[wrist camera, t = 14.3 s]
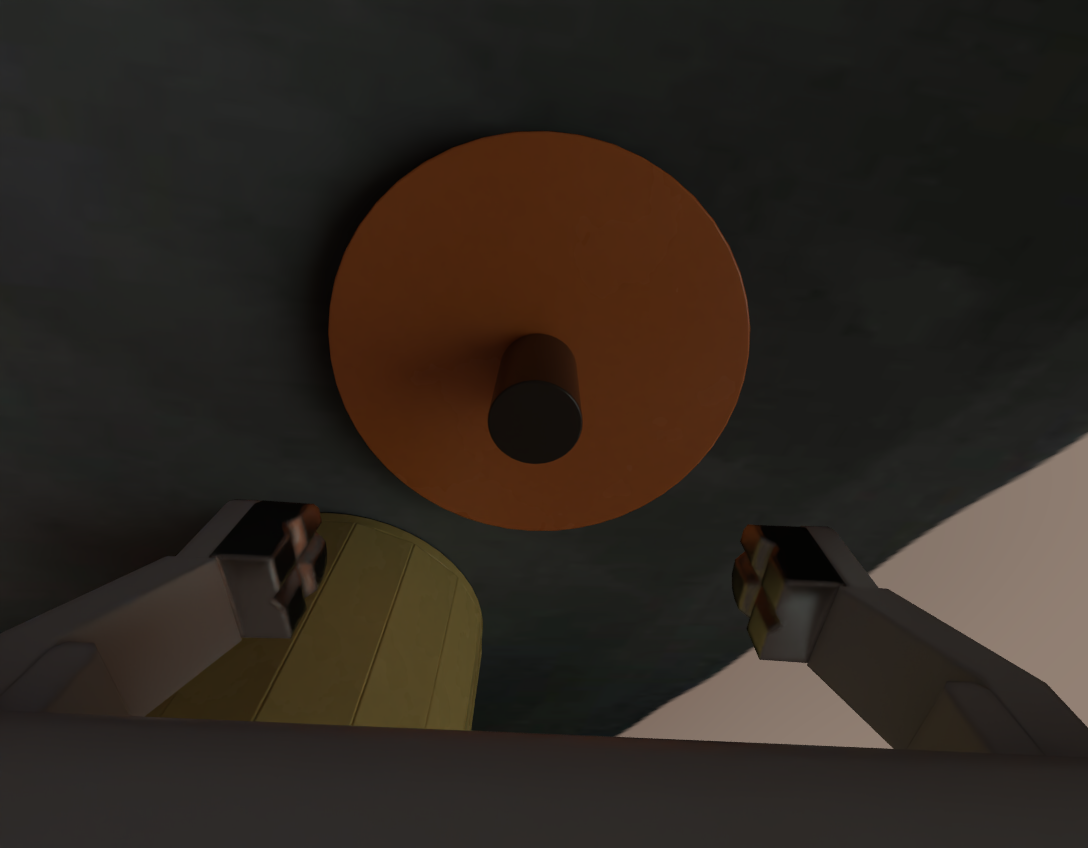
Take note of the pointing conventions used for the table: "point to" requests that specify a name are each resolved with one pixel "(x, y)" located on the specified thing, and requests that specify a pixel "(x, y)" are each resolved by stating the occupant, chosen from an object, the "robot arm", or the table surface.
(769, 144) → the table surface
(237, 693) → the tin
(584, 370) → the tin lid
